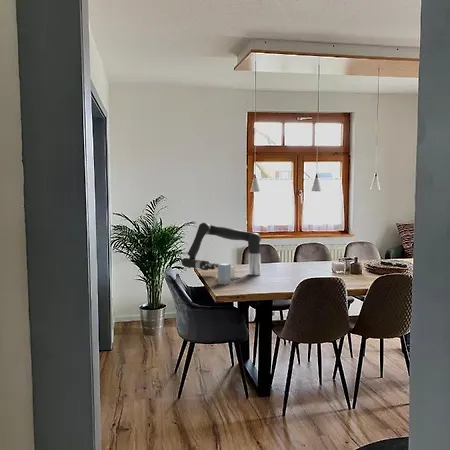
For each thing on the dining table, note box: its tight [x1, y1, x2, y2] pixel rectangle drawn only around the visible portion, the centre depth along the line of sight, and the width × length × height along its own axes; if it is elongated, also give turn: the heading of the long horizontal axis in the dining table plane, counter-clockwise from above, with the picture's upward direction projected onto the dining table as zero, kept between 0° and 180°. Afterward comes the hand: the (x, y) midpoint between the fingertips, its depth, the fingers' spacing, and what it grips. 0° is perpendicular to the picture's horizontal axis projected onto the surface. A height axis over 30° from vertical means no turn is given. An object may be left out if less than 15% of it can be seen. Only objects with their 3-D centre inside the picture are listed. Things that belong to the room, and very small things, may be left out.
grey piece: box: [217, 263, 232, 286], centre depth 336 cm, size 6×6×14 cm
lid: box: [230, 265, 236, 279], centre depth 354 cm, size 6×6×9 cm
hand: (218, 267), depth 360 cm, fingers open, 8 cm apart
